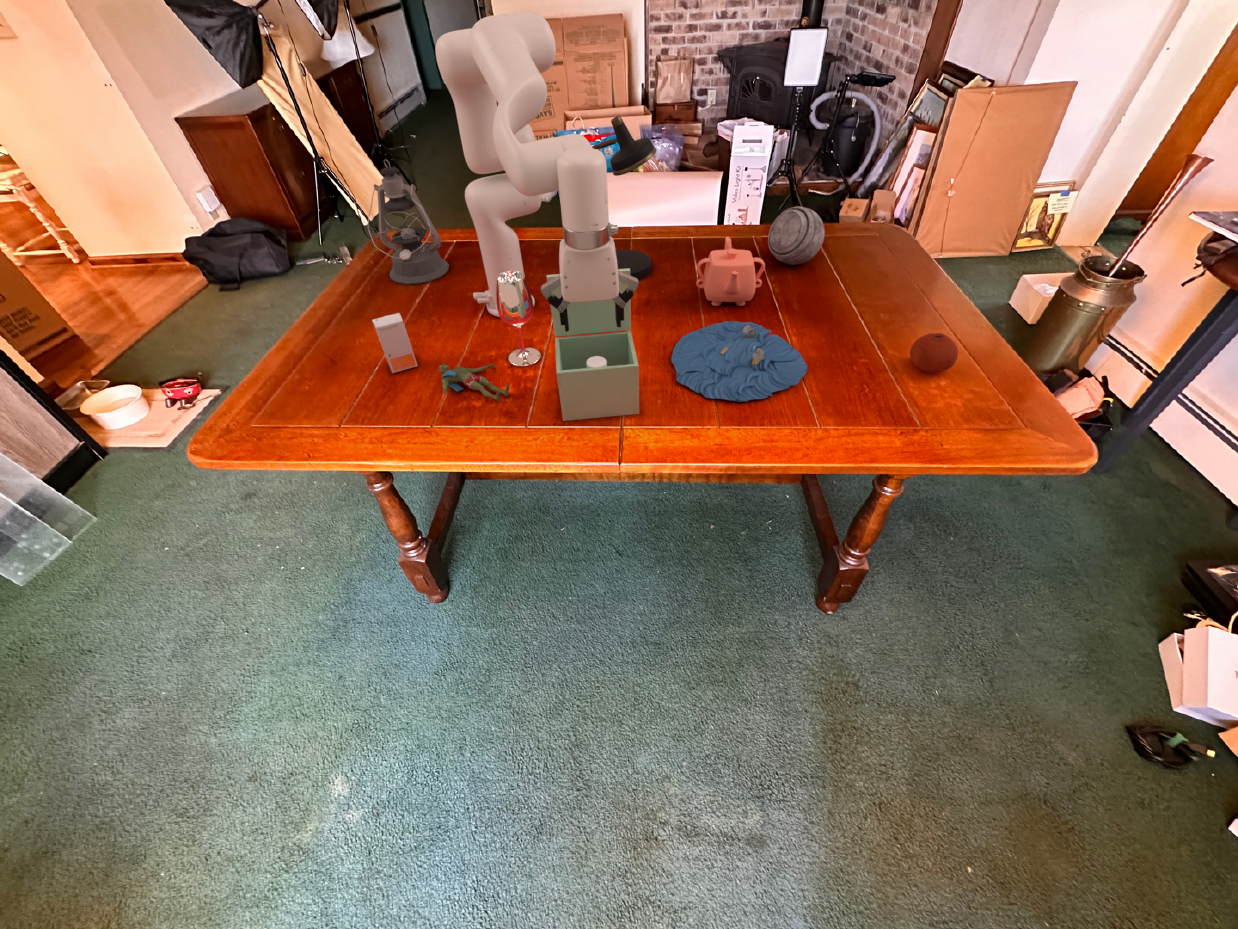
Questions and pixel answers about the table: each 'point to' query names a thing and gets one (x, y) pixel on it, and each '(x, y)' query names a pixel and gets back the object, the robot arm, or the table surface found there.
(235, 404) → the table surface
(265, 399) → the table surface
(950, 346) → the fruit
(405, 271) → the lantern
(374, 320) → the cosmetic box
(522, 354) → the wineglass
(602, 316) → the lid
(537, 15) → the robot arm
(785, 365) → the blue flat rumpled sheet
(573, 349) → the chest
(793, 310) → the table surface
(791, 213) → the decorative orb
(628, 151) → the lamp
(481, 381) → the figurine
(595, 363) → the pill bottle
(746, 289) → the teapot
